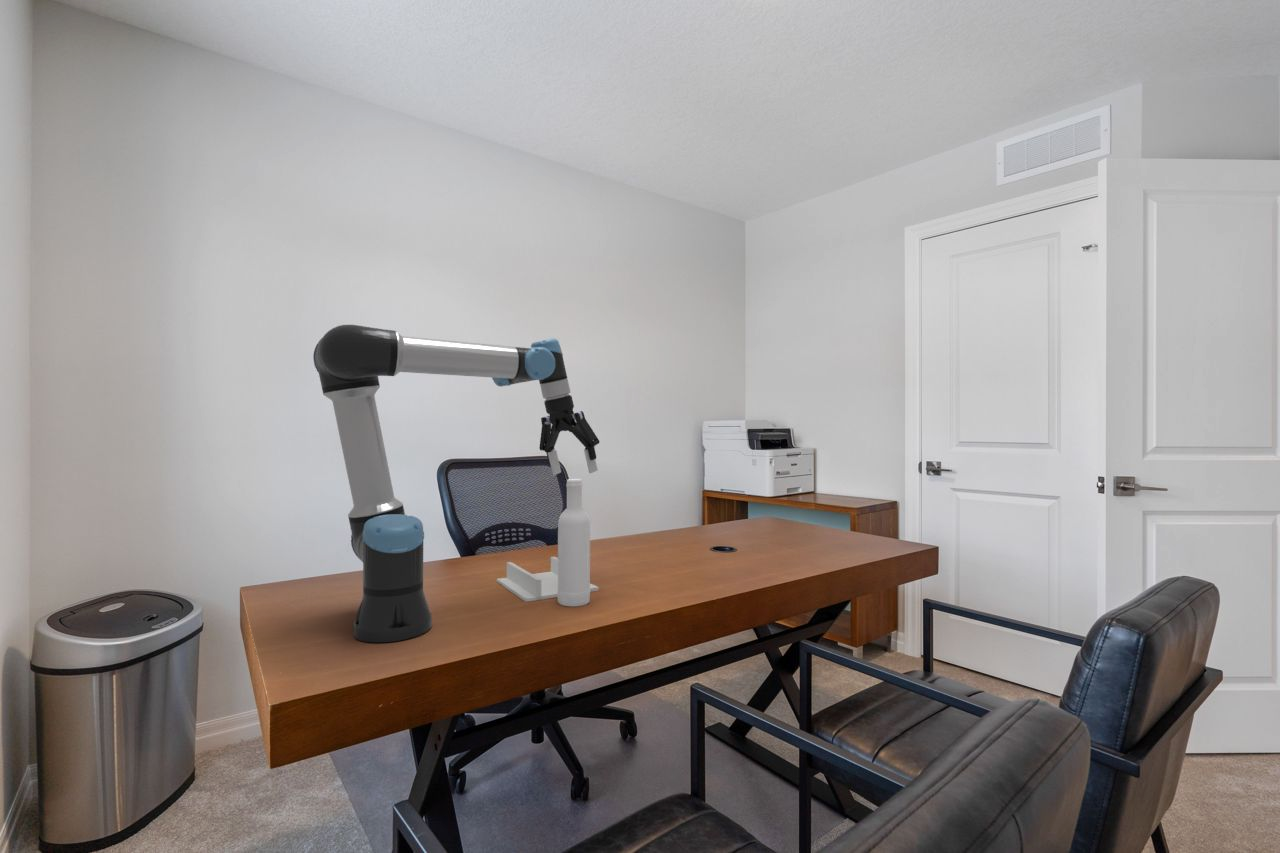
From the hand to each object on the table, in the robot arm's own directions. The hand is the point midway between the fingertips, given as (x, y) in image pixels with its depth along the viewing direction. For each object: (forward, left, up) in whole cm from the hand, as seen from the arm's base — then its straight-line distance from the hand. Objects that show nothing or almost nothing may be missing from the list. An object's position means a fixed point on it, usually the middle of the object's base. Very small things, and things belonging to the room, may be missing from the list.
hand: (574, 472), depth 162 cm
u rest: (-6, -4, -30) cm, 31 cm away
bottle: (+6, -16, -30) cm, 35 cm away
